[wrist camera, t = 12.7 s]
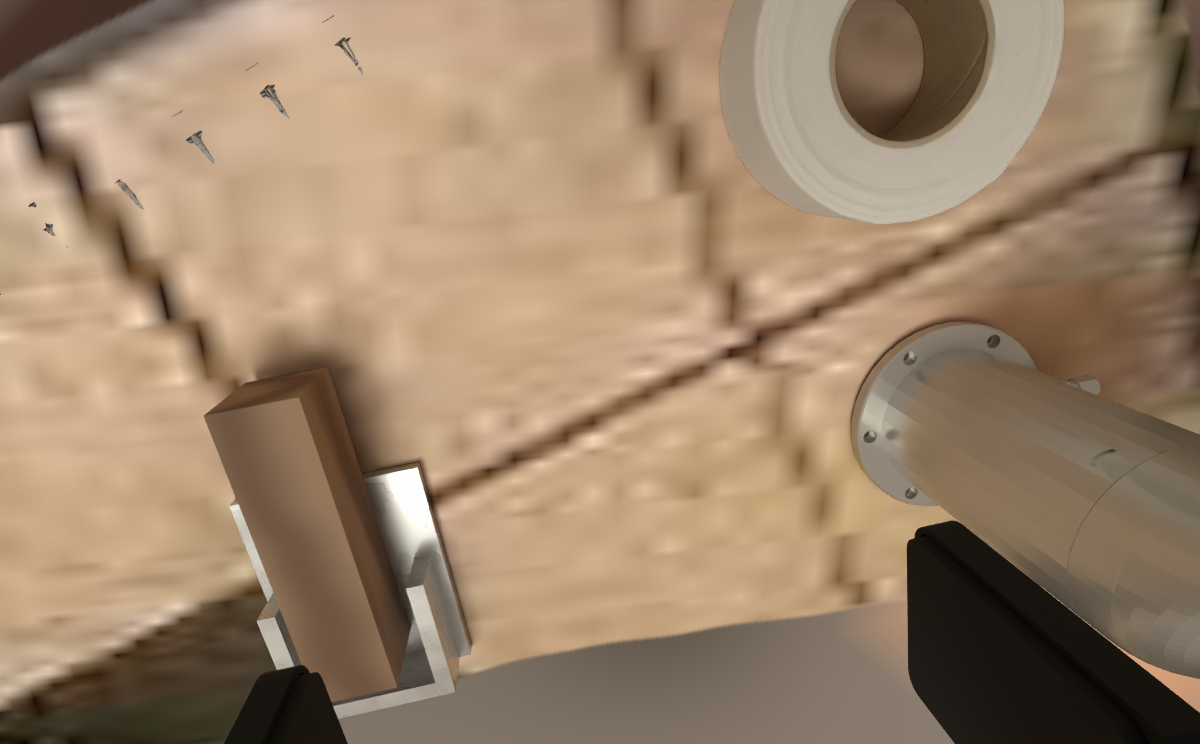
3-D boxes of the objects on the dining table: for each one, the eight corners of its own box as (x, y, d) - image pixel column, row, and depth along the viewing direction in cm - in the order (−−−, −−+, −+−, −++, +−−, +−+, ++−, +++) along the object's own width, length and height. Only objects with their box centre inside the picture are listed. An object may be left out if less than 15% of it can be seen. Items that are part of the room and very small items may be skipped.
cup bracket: (419, 461, 39) (409, 491, 35) (471, 645, 43) (467, 689, 39) (235, 499, 38) (205, 533, 34) (307, 682, 42) (288, 730, 39)
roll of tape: (995, -116, 33) (1085, -170, 28) (982, 194, 38) (1056, 198, 33) (704, -78, 32) (740, -127, 27) (729, 236, 37) (764, 247, 32)
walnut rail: (327, 366, 35) (298, 397, 31) (411, 627, 41) (397, 687, 36) (245, 382, 35) (203, 415, 30) (340, 643, 41) (318, 705, 36)
